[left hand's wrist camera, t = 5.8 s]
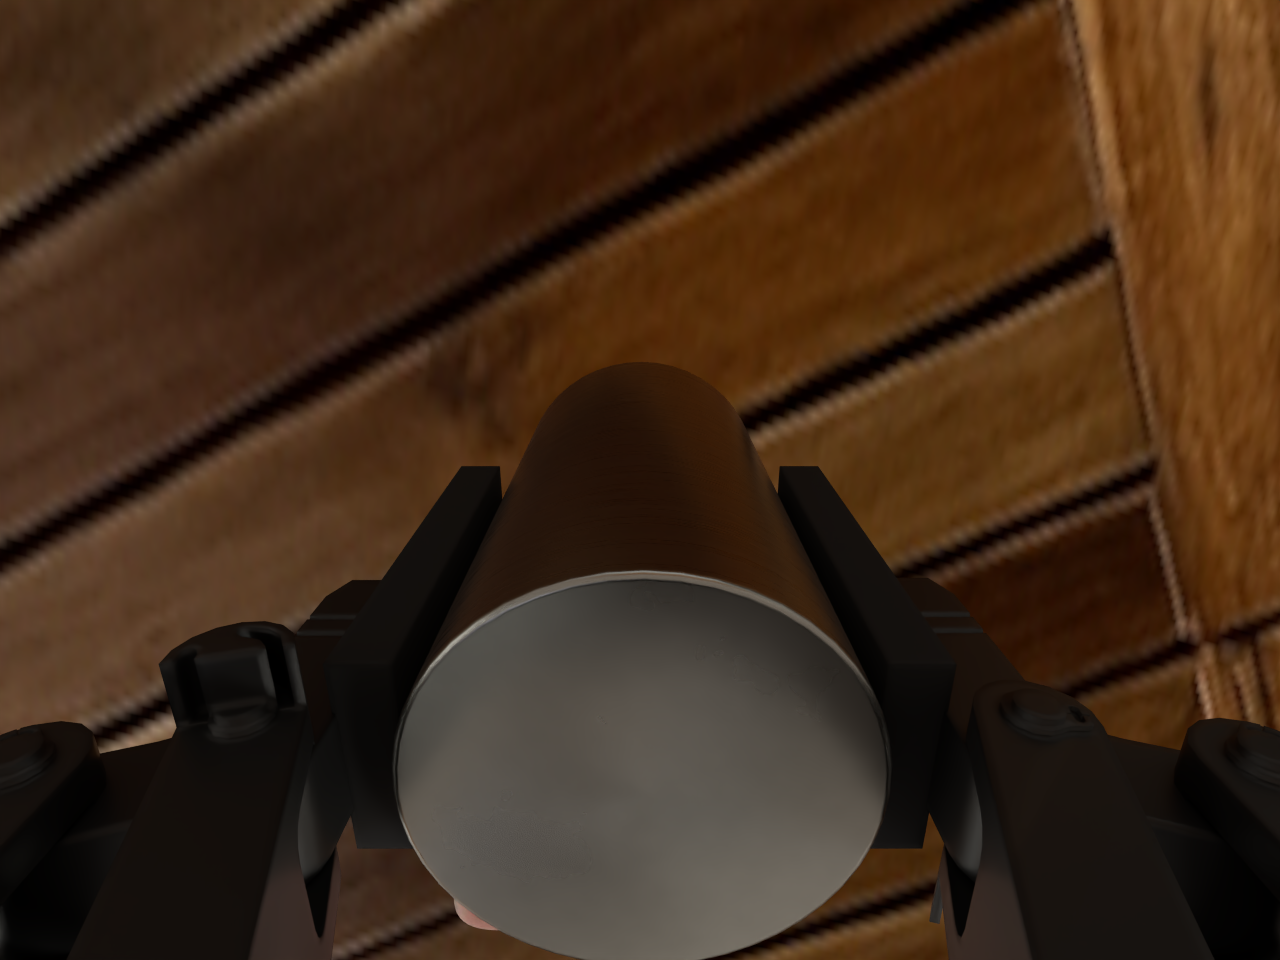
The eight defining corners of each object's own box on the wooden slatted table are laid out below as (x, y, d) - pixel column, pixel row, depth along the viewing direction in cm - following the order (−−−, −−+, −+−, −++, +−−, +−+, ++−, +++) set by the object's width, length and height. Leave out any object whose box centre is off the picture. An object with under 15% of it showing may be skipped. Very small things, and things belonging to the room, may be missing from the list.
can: (790, 510, 18) (969, 865, 8) (601, 605, 19) (562, 1023, 9) (686, 317, 16) (755, 474, 6) (485, 432, 17) (282, 719, 7)
